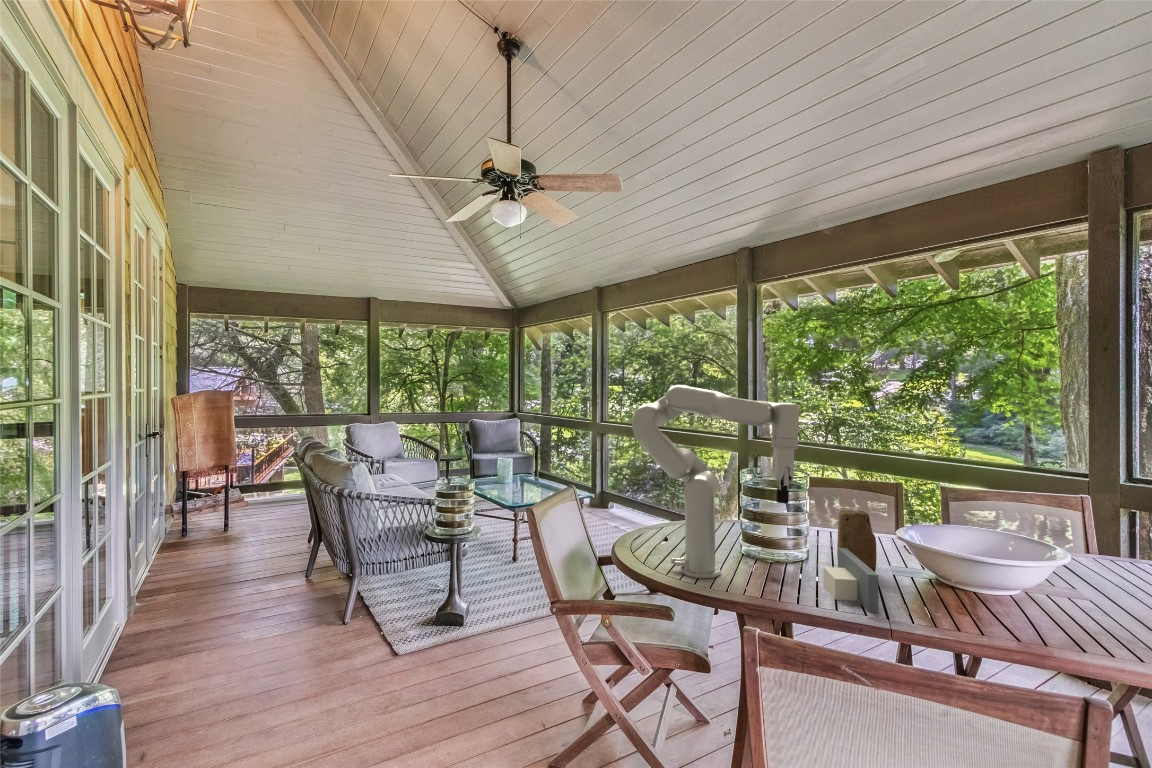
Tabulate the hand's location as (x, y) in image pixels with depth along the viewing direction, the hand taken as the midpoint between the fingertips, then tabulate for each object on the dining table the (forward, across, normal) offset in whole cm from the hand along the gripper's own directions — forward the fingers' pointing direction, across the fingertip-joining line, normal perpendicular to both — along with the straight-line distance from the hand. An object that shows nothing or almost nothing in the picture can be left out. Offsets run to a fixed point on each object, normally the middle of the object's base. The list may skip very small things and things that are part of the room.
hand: (782, 502), depth 164 cm
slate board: (+24, +6, +20) cm, 32 cm away
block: (+24, -14, +26) cm, 38 cm away
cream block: (+24, +5, +16) cm, 30 cm away
